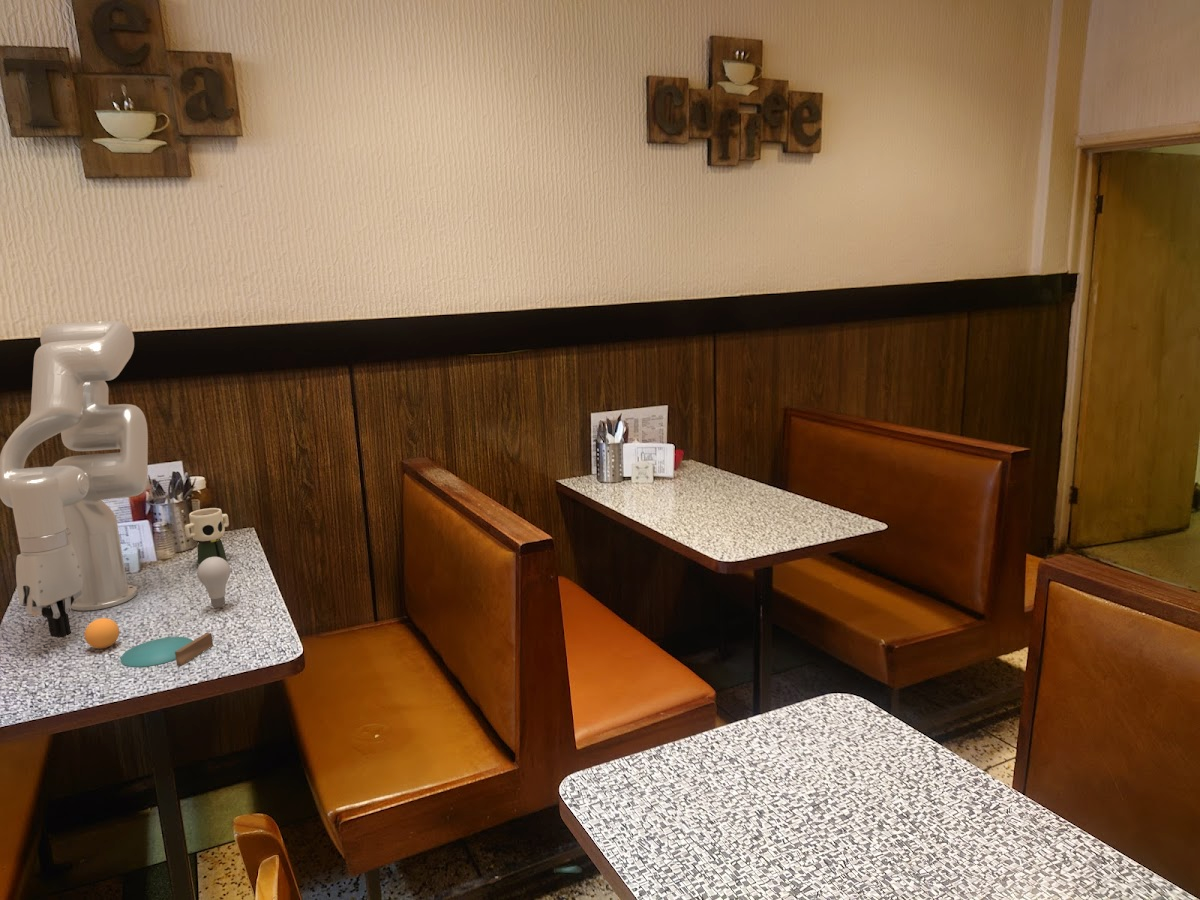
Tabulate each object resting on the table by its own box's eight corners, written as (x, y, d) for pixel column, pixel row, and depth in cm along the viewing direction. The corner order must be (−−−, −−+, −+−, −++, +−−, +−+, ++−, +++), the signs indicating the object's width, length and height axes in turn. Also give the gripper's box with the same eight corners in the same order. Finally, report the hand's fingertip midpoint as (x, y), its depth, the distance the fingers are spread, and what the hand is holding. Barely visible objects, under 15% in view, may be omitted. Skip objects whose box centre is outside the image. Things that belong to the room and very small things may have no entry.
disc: (104, 664, 147) (104, 663, 147) (155, 635, 158) (155, 634, 158) (161, 669, 144) (161, 668, 144) (209, 640, 155) (209, 639, 155)
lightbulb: (226, 613, 168) (219, 562, 166) (197, 614, 168) (189, 563, 166) (240, 602, 174) (233, 552, 172) (211, 603, 174) (204, 553, 172)
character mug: (200, 573, 192) (192, 519, 190) (182, 568, 196) (174, 516, 194) (242, 559, 201) (235, 507, 199) (224, 555, 205) (217, 504, 203)
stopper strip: (176, 665, 146) (174, 651, 145) (208, 645, 153) (206, 632, 153) (181, 665, 145) (179, 652, 145) (213, 645, 153) (211, 633, 152)
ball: (80, 652, 152) (74, 624, 151) (104, 639, 157) (99, 612, 156) (104, 654, 151) (99, 626, 150) (128, 641, 156) (123, 614, 155)
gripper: (62, 529, 160) (78, 618, 164) (-11, 554, 146) (8, 651, 150) (94, 530, 159) (109, 621, 162) (23, 555, 144) (41, 654, 148)
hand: (61, 635), depth 156 cm, fingers closed
